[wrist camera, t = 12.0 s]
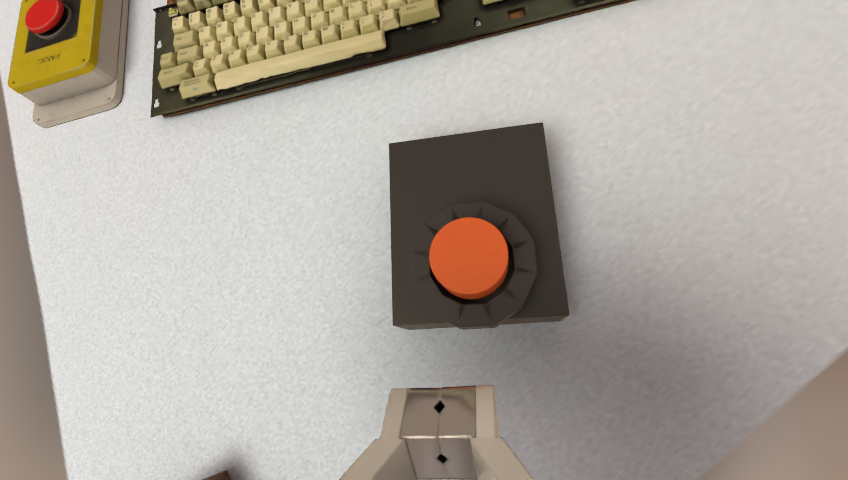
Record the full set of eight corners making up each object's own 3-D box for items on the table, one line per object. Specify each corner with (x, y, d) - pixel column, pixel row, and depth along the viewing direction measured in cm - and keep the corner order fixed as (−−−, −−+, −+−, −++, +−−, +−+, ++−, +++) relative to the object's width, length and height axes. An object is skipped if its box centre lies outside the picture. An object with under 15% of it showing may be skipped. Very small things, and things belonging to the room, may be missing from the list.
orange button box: (561, 328, 26) (576, 320, 21) (408, 336, 28) (382, 331, 22) (538, 151, 30) (545, 103, 24) (403, 168, 32) (380, 127, 26)
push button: (511, 296, 22) (512, 291, 20) (437, 302, 23) (431, 296, 21) (504, 225, 23) (504, 213, 21) (433, 232, 24) (427, 221, 22)
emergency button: (90, -55, 39) (75, 76, 35) (129, -16, 44) (121, 106, 39) (8, -26, 41) (-16, 104, 36) (55, 9, 45) (38, 129, 40)
